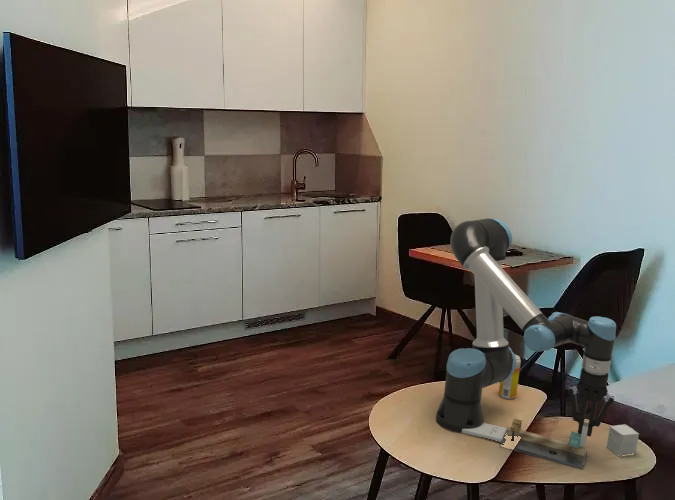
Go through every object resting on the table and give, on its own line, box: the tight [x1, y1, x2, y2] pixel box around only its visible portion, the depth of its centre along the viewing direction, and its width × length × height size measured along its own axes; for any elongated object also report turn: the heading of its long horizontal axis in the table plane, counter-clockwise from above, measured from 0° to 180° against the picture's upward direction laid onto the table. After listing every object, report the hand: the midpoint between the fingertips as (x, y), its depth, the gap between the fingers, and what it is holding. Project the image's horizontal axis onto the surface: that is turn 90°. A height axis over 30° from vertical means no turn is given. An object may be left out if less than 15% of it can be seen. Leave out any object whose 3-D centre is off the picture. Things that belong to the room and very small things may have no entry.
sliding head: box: [568, 431, 581, 457], centre depth 204 cm, size 3×6×5 cm, turn 155°
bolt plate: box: [499, 431, 588, 470], centre depth 207 cm, size 24×10×1 cm, turn 64°
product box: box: [606, 423, 640, 456], centre depth 209 cm, size 6×6×7 cm
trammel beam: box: [506, 418, 587, 456], centre depth 207 cm, size 23×6×5 cm, turn 64°
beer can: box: [498, 354, 522, 400], centre depth 242 cm, size 6×6×15 cm
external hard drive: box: [461, 422, 508, 442], centre depth 215 cm, size 2×8×12 cm
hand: (582, 444), depth 204 cm, fingers closed
